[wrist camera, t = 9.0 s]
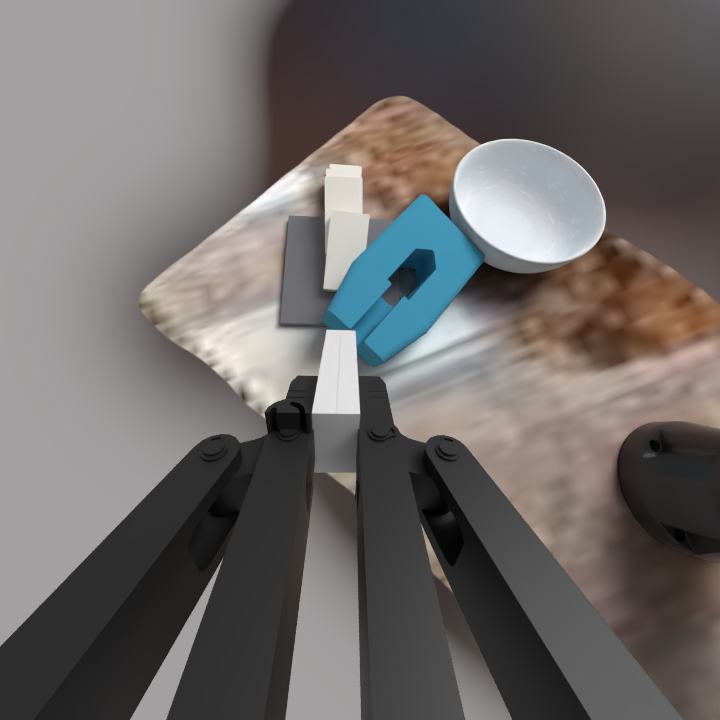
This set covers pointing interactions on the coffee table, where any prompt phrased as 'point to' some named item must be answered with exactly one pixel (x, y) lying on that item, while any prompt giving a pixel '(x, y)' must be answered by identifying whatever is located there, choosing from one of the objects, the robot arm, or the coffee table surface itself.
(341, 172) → the domino
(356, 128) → the coffee table surface
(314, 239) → the domino mat
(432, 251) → the block
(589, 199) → the serving bowl
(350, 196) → the domino
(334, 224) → the domino
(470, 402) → the coffee table surface
